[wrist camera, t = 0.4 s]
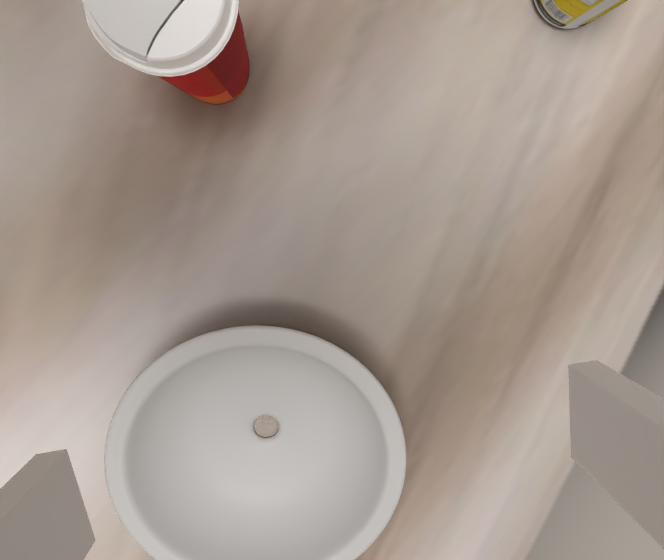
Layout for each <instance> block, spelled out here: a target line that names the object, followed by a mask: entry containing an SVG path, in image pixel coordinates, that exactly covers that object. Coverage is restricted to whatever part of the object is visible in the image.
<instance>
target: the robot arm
mask: <svg viewBox="0 0 664 560" xmlns="http://www.w3.org/2000/svg"><path fill="white" fill-rule="evenodd" d="M568 369H569V401H570V434H571V457H572V458H573V459H574V460H575V461H576V462H577V463H578V464H579V465H580V466H581V467H582V468H583V469H584V470H585V471H586V472H587V473H588V474H589V475H590V476H591V477H592V478H593V479H594V480H595V481H596V482H597V483H598V484H599V485H600V486H601V487H602V488H603V489H604V490H605V491H606V492H607V493H608V494H609V495H610V496H611V497H612V498H613V499H614V500H615V501H616V502H617V503H618V504H619V505H620V506H621V507H622V508H623V509H624V510H625V511H626V512H627V513H628V514H629V515H630V516H631V517H632V518H633V519H634V520H635V521H636V522H637V523H638V524H639V525H640V526H641V527H642V528H643V529H644V530H645V531H646V532H647V533H648V534H649V535H650V536H651V537H652V538H653V539H654V540H655V541H656V542H657V543H658V544H659V545H660V546H661V547H662V548H663V549H664V399H663V398H661V397H659V396H658V395H656V394H654V393H652V392H651V391H649V390H647V389H645V388H644V387H642V386H640V385H638V384H637V383H635V382H633V381H632V380H630V379H628V378H626V377H625V376H623V375H621V374H619V373H618V372H616V371H614V370H613V369H611V368H609V367H607V366H606V365H604V364H602V363H600V362H599V361H597V360H595V361H589V362H583V363H577V364H571V365H568ZM94 542H95V537H94V534H93V531H92V528H91V525H90V521H89V518H88V515H87V512H86V509H85V506H84V503H83V499H82V496H81V493H80V490H79V487H78V484H77V481H76V477H75V474H74V471H73V468H72V465H71V462H70V459H69V455H68V452H67V449H65V450H59V451H53V452H47V453H41V454H36V455H35V456H34V457H33V458H32V459H31V460H30V461H29V462H28V463H27V464H26V465H25V466H24V467H23V468H22V469H21V470H20V471H18V472H17V473H16V474H15V475H14V476H13V477H12V478H11V479H10V480H9V481H8V482H7V483H6V484H5V485H4V486H3V487H2V488H1V489H0V560H84V558H85V556H86V555H87V553H88V551H89V550H90V548H91V547H92V545H93V543H94Z"/></svg>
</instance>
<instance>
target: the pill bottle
mask: <svg viewBox="0 0 664 560" xmlns="http://www.w3.org/2000/svg"><path fill="white" fill-rule="evenodd" d="M625 1H627V0H534V2H535V5H536V7H537V9H538V11H539V13H540V14H541V16H542V17H543V18H544V19H545V20H546V21H547V22H549V23H550V24H552V25H554V26H556V27H559V28H565V29H571V28H577V27H581V26H583V25H586V24H588V23H590V22H591V21H593V20H595V19H597V18H598V17H600V16H602V15H603V14H605V13H607V12H608V11H610V10H612V9H613V8H615V7H617V6H619V5H620V4H622V3H624V2H625Z"/></svg>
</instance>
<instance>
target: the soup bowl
mask: <svg viewBox="0 0 664 560" xmlns="http://www.w3.org/2000/svg"><path fill="white" fill-rule="evenodd" d="M264 415H268V416H272V417H274V418H275V419H276V420H277V421H278V423H279V429H278V432H277V433H276V434H275V435H274V436H272V437H268V438H264V437H261V436H259V435H257V434H256V432H255V431H254V422H255V420H256V419H257V418H258V417H260V416H264ZM104 461H105V476H106V483H107V487H108V491H109V495H110V498H111V501H112V503H113V506H114V509H115V511H116V513H117V515H118V517H119V519H120V521H121V522H122V524H123V525H124V527H125V528H126V530H127V531H128V533H129V534H130V535H131V537H132V538H133V539H134V540H135V542H136V543H137V544H138V545H139V546H140V547H141V548H142V549H143V550H144V551H145V552H146V553H147V554H148V555H150V556H151V557H152V558H153V559H154V560H355V559H356V558H357V557H359V556H360V555H361V554H362V553H363V552H364V551H365V550H366V549H367V548H368V547H369V546H370V545H371V544H372V543H373V542H374V541H375V540H376V539H377V538H378V536H379V535H380V533H381V532H382V531H383V529H384V528H385V527H386V525H387V523H388V522H389V520H390V518H391V517H392V515H393V513H394V510H395V508H396V506H397V504H398V501H399V498H400V495H401V492H402V488H403V484H404V479H405V472H406V445H405V438H404V433H403V428H402V425H401V422H400V418H399V415H398V413H397V411H396V409H395V406H394V404H393V402H392V400H391V399H390V397H389V395H388V394H387V392H386V390H385V389H384V388H383V386H382V385H381V384H380V382H379V381H378V380H377V379H376V377H375V376H374V375H373V374H372V373H371V372H370V371H369V370H368V369H367V368H366V367H365V366H364V365H363V364H362V363H360V362H359V361H358V360H357V359H355V358H354V357H353V356H351V355H350V354H349V353H347V352H346V351H344V350H343V349H341V348H339V347H337V346H336V345H334V344H332V343H330V342H328V341H326V340H324V339H321V338H319V337H317V336H314V335H311V334H308V333H305V332H301V331H297V330H293V329H289V328H282V327H276V326H261V325H255V326H239V327H231V328H225V329H221V330H216V331H212V332H209V333H206V334H203V335H199V336H196V337H194V338H192V339H190V340H187V341H185V342H183V343H181V344H179V345H177V346H175V347H174V348H172V349H170V350H168V351H167V352H166V353H164V354H163V355H161V356H160V357H158V358H157V359H156V360H155V361H153V362H152V363H151V364H150V365H149V366H148V367H146V368H145V369H144V370H143V371H142V372H141V374H140V375H139V376H138V377H137V378H136V379H135V380H134V381H133V383H132V384H131V385H130V387H129V388H128V389H127V391H126V392H125V394H124V395H123V397H122V399H121V401H120V402H119V404H118V406H117V408H116V411H115V413H114V415H113V418H112V421H111V424H110V427H109V430H108V434H107V439H106V445H105V457H104Z"/></svg>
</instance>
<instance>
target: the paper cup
mask: <svg viewBox="0 0 664 560" xmlns="http://www.w3.org/2000/svg"><path fill="white" fill-rule="evenodd" d="M82 2H83V7H84V11H85V14H86V18H87V23H88V26H89V28H90V30H91V32H92V33H93V35H94V37H95V38H96V39H97V41H98V42H99V43H100V45H101V46H102V47H103V48H104V49H105V50H106V51H107V52H108V53H109V54H110V55H111V56H112V57H113V58H115V59H117V60H119V61H121V62H123V63H125V64H127V65H129V66H131V67H132V68H134V69H136V70H139V71H141V72H144V73H147V74H151V75H156V76H159V77H161V78H162V79H164V80H166V81H167V82H169V83H171V84H172V85H174V86H176V87H177V88H179V89H181V90H183V91H184V92H186V93H188V94H190V95H191V96H193V97H195V98H197V99H199V100H201V101H204V102H207V103H212V104H221V103H226V102H229V101H231V100H233V99H234V98H236V97H237V96H238V95H239V94H240V93H241V92H242V91H243V89H244V88H245V86H246V83H247V81H248V77H249V58H248V53H247V48H246V44H245V38H244V33H243V27H242V23H241V19H240V16H239V12H238V6H239V0H82Z"/></svg>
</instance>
